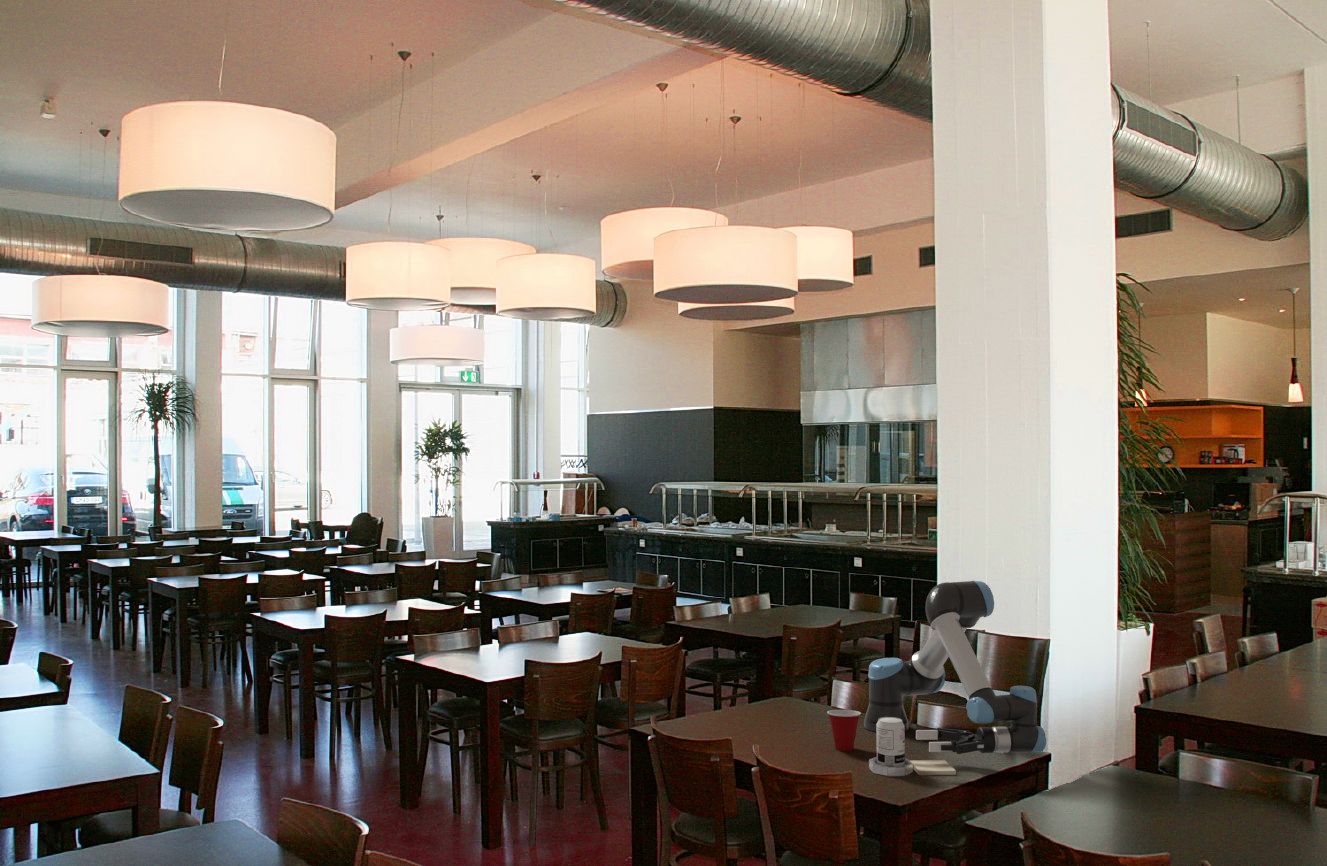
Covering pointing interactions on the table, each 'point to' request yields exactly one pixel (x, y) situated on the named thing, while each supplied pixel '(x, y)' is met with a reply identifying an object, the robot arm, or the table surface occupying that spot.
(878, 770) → the collar
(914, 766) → the board
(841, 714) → the plastic cup
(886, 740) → the supplement can
